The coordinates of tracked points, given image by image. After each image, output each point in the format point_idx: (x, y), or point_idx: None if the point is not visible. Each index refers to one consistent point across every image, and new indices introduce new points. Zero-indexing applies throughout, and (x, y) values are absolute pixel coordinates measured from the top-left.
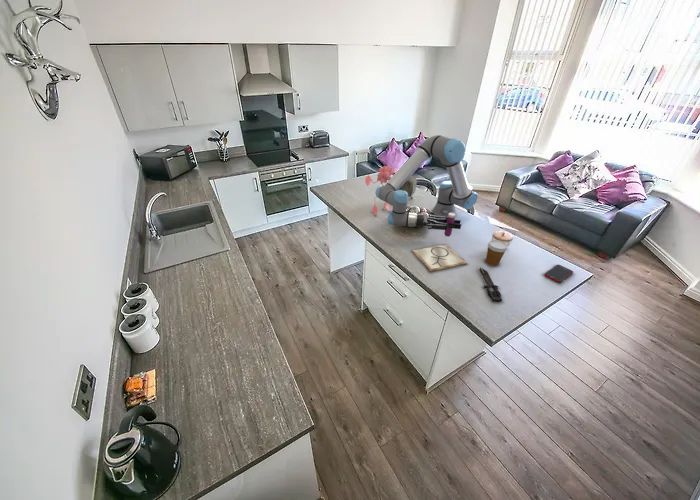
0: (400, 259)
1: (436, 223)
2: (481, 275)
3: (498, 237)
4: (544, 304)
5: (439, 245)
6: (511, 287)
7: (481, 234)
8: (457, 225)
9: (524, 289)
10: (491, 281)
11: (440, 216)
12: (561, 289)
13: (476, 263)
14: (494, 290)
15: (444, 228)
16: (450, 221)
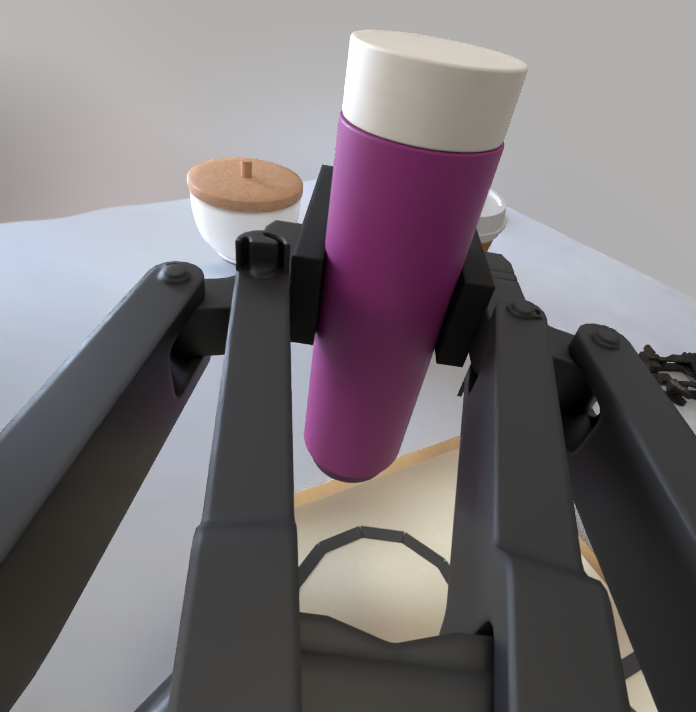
0: None
1: (559, 546)
2: None
3: (275, 194)
4: (629, 267)
5: None
6: (591, 311)
7: (90, 272)
8: None
9: (576, 282)
10: None
11: (98, 350)
12: (513, 214)
13: (449, 378)
14: (667, 369)
15: (581, 412)
16: (473, 233)
